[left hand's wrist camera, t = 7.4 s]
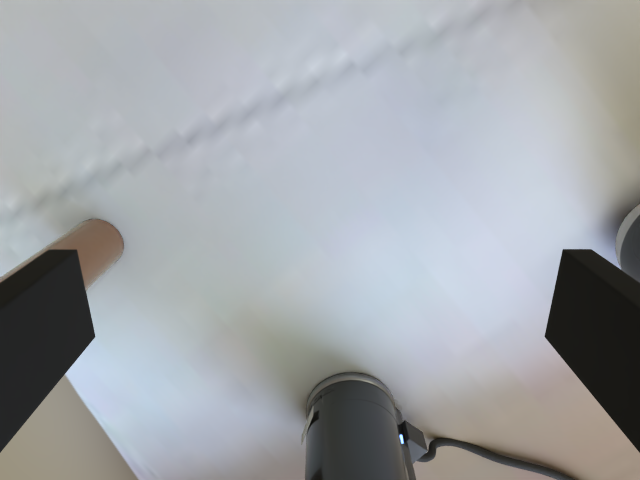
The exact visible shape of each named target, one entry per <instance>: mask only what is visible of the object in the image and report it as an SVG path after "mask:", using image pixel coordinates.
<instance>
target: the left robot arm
mask: <svg viewBox="0 0 640 480" xmlns="http://www.w3.org/2000/svg"><path fill="white" fill-rule="evenodd" d="M94 338H95V333H94V328H93V323H92V318H91V314H90V309H89V304H88V299H87V294H86V290H85V285H84V280H83V275H82V270H81V266H80V261H79V256H78V251H77V249H49V250H47V251H46V252H44V253H43V254H41V255H40V256H38V257H37V258H36V259H34V260H33V261H31V262H30V263H28V264H27V265H25V266H24V267H22V268H21V269H20V270H18V271H17V272H15V273H14V274H12V275H11V276H9V277H8V278H6V279H5V280H4V281H2V282H1V283H0V452H1V451H2V450H3V448H4V447H5V446H6V445H7V444H8V442H9V441H10V440H11V439H12V438H13V436H14V435H15V434H16V433H17V431H18V430H19V429H20V428H21V427H22V425H23V424H24V423H25V422H26V421H27V419H28V418H29V417H30V416H31V414H32V413H33V412H34V411H35V410H36V408H37V407H38V406H39V405H40V403H41V402H42V401H43V400H44V399H45V397H46V396H47V395H48V394H49V392H50V391H51V390H52V389H53V388H54V386H55V385H56V384H57V383H58V381H59V380H60V379H61V378H62V377H63V375H64V374H65V373H66V372H67V371H68V369H69V368H70V367H71V366H72V364H73V363H74V362H75V361H76V360H77V358H78V357H79V356H80V355H81V354H82V352H83V351H84V350H85V349H86V347H87V346H88V345H89V344H90V343H91V341H92V340H93V339H94ZM545 338H546V339H547V340H548V341H549V343H550V344H551V345H552V346H553V347H554V349H555V350H556V351H557V352H558V354H559V355H560V356H561V357H562V358H563V360H564V361H565V362H566V363H567V364H568V366H569V367H570V368H571V369H572V371H573V372H574V373H575V374H576V375H577V377H578V378H579V379H580V380H581V382H582V383H583V384H584V385H585V386H586V388H587V389H588V390H589V391H590V393H591V394H592V395H593V396H594V397H595V399H596V400H597V401H598V402H599V403H600V405H601V406H602V407H603V408H604V410H605V411H606V412H607V413H608V414H609V416H610V417H611V418H612V419H613V421H614V422H615V423H616V424H617V425H618V427H619V428H620V429H621V430H622V432H623V433H624V434H625V435H626V436H627V438H628V439H629V440H630V441H631V442H632V444H633V445H634V446H635V447H636V449H637V450H638V451H639V452H640V283H639V282H638V281H636V280H635V279H634V278H632V277H631V276H629V275H628V274H626V273H625V272H623V271H622V270H620V269H619V268H618V267H616V266H615V265H613V264H612V263H610V262H609V261H607V260H606V259H604V258H603V257H602V256H600V255H599V254H597V253H596V252H594V251H593V250H591V249H563V251H562V256H561V261H560V266H559V270H558V275H557V280H556V285H555V290H554V294H553V299H552V304H551V309H550V314H549V318H548V323H547V328H546V333H545Z"/></svg>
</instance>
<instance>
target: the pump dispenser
mask: <svg viewBox="0 0 640 480" xmlns="http://www.w3.org/2000/svg"><path fill="white" fill-rule="evenodd" d="M615 249H616V256H617V260H618V263H619V265H620V267H621V270H622V271H623V272H625V273H626V274H628V275H629V276H631V277H632V278H634V279H635V280H636V281H638V282H639V283H640V204H639V205H637V206H636V207H635V208H634V209H633V210H632V211H631V212H630V213H629V214H628V215H627V216H626V218H625V219H624V221H623V222H622V224H621V226H620V228H619V230H618V233H617V237H616V244H615Z"/></svg>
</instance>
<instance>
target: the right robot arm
mask: <svg viewBox="0 0 640 480" xmlns="http://www.w3.org/2000/svg"><path fill="white" fill-rule="evenodd" d="M306 417H307V423H306V426H305V428H304V431H303V433H302V442H303V440H304V437H305V435H306V432H307V435H306V464H305V480H416V477H415V473H414V468H413V463H414V462H416V461H419V462H428V461H430V460H432V459H434V457H435V455H436V448H437V447H440V446H455V447H459V448H462V449H465V450H468V451H470V452H473V453H475V454H478V455H480V456H482V457H485V458H487V459H489V460H492V461H495V462H498V463H501V464H504V465H508V466H512V467H516V468H520V469H524V470H528V471H532V472H536V473H540V474H543V475H546V476H549V477H552V478H555V479H557V480H574V479H573V478H571V477H569V476H567V475H565V474H562V473H560V472H558V471H555V470H552V469H549V468H546V467H543V466H540V465H536V464H532V463H528V462H524V461H520V460H516V459H512V458H509V457H505V456H501V455H498V454H496V453H493V452H490V451H488V450H485V449H483V448H481V447H478V446H476V445H473V444H470V443H467V442H462V441H458V440H453V439H448V438H439V439H436V440H433V441H431V442H430V444H429V450H427V446H426V443H425V439H424V436H423V432H421V431H420V430H418V429H417V428H416V427H414V426H413V425H411V424H410V423H408V422H407V421H404V422H403V421H402V416H401V412H400V411H399V410H398V409H396V408H395V404H394V400H393V397H392V395H391V393H390V391H389V390H388V388H387V387H386V386H385V385H384V384H383V383H381V382H380V381H379V380H377V379H375V378H373V377H371V376H368V375H365V374H360V373H344V374H339V375H335V376H332V377H330V378H328V379H326V380H324V381H323V382H321V383H320V384H319V385H318V386H317V387H316V388H315V389H314V390H313V391H312V393H311V394H310V396H309V399H308V402H307V413H306ZM301 445H302V443H301ZM427 451H428V452H427ZM426 452H427V453H426Z"/></svg>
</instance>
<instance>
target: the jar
mask: <svg viewBox="0 0 640 480" xmlns="http://www.w3.org/2000/svg"><path fill="white" fill-rule="evenodd" d="M49 249H77V251H78V256H79V261H80V266H81V270H82V275H83V280H84V285H85V290H87V289H88V288H89V287H90V286H91V285H93V284H94V283H95V282H96V281H97V280H98V279H99V278H100V277H101V276H102V275H103V274H104V273H105V272H106V271H107V270H108V269H109V268H110V267H111V266H112V265H113V264H114V263H115V262H116V261H117V260H118V259H119V258H120V257H121V255H122V253H123V249H124V244H123V239H122V237H121V235H120V233H119V231H118V230H117V229H116V228H115V227H114V226H113V225H111V224H110V223H108V222H106V221H103V220H98V219H90V220H86V221H84V222H82V223H80V224H79V225H77V226H76V227H74V228H73V229H71V230H70V231H68V232H67V233H65V234H64V235H62V236H61V237H59V238H58V239H56V240H55V241H53V242H52V243H50V244H49V245H47V246H46V247H45V248H43V249H42V250H40V251H39V252H37V253H36V254H34V255H33V256H31V257H30V258H28V259H27V260H25V261H24V262H22V263H21V264H19V265H18V266H16V267H15V268H13V269H12V270H10V271H9V272H7V273H6V274H4V275H3V276H1V277H0V283H1V282H2V281H4V280H5V279H6V278H8V277H9V276H11V275H12V274H14V273H15V272H17V271H18V270H20V269H21V268H22V267H24V266H25V265H27V264H28V263H30V262H31V261H33V260H34V259H36V258H37V257H38V256H40V255H41V254H43V253H44V252H46V251H47V250H49Z"/></svg>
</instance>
